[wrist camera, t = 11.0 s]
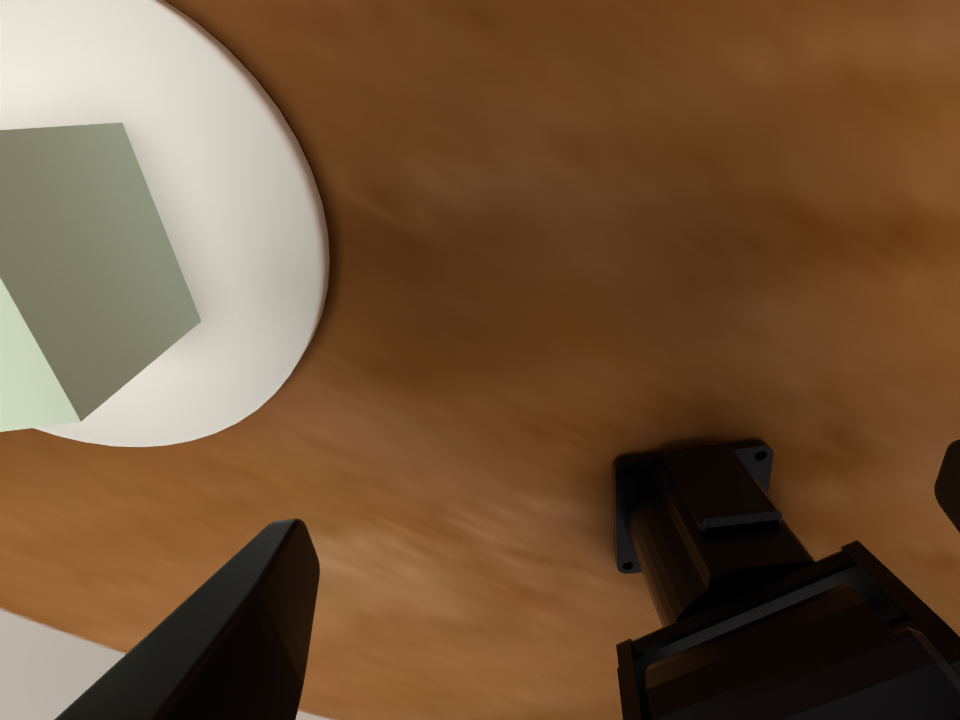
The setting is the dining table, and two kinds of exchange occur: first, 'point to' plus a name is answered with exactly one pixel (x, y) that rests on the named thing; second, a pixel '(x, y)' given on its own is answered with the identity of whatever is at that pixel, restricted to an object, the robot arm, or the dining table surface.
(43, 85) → the plate
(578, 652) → the dining table surface
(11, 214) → the sage cube
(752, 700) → the robot arm
